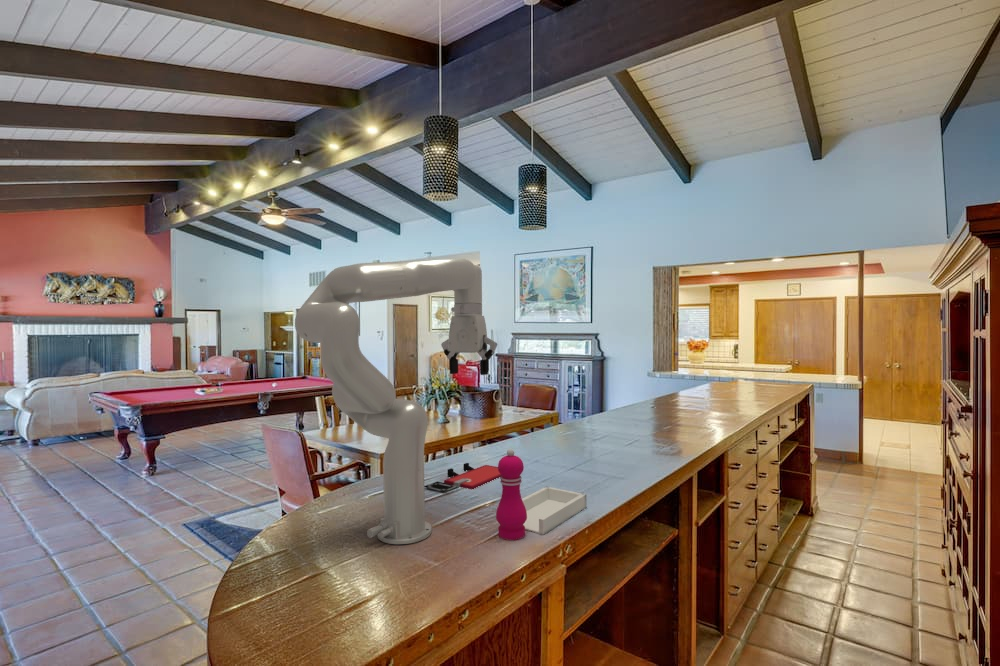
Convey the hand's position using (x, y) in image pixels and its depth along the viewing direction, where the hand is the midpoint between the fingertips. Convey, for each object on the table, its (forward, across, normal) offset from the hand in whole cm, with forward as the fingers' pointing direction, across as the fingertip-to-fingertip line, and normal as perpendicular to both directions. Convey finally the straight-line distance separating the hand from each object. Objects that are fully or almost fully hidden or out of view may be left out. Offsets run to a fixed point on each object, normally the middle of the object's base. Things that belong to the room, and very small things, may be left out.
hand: (468, 374), depth 134 cm
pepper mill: (+36, +18, -11) cm, 42 cm away
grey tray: (+36, +20, +4) cm, 42 cm away
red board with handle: (+37, -15, +22) cm, 45 cm away
